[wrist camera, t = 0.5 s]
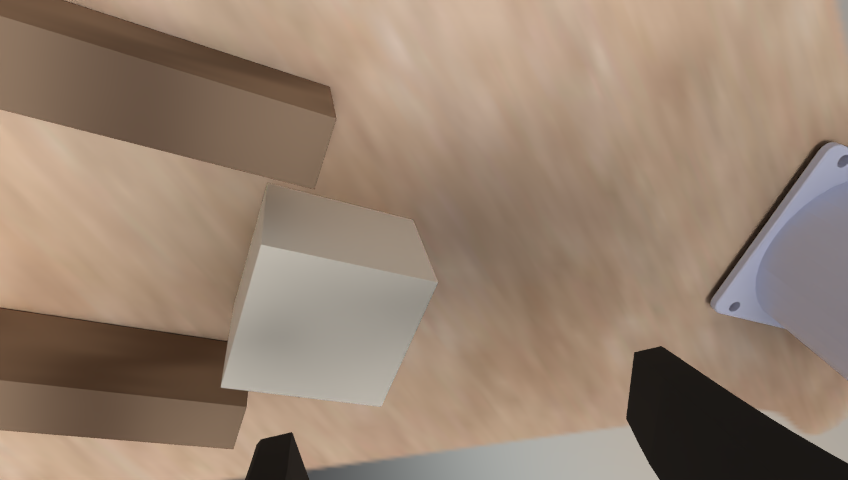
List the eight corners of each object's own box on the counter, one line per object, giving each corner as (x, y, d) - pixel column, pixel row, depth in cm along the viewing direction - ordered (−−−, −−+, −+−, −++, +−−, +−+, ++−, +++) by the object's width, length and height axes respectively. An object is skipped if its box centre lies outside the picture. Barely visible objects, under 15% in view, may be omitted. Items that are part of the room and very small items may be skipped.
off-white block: (412, 217, 19) (437, 282, 16) (367, 328, 21) (381, 407, 18) (267, 180, 17) (261, 244, 14) (233, 305, 19) (220, 387, 16)
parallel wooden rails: (329, 86, 16) (336, 118, 13) (240, 385, 21) (233, 449, 18) (9, -18, 13) (-59, -2, 11) (-7, 354, 18) (-56, 425, 16)
